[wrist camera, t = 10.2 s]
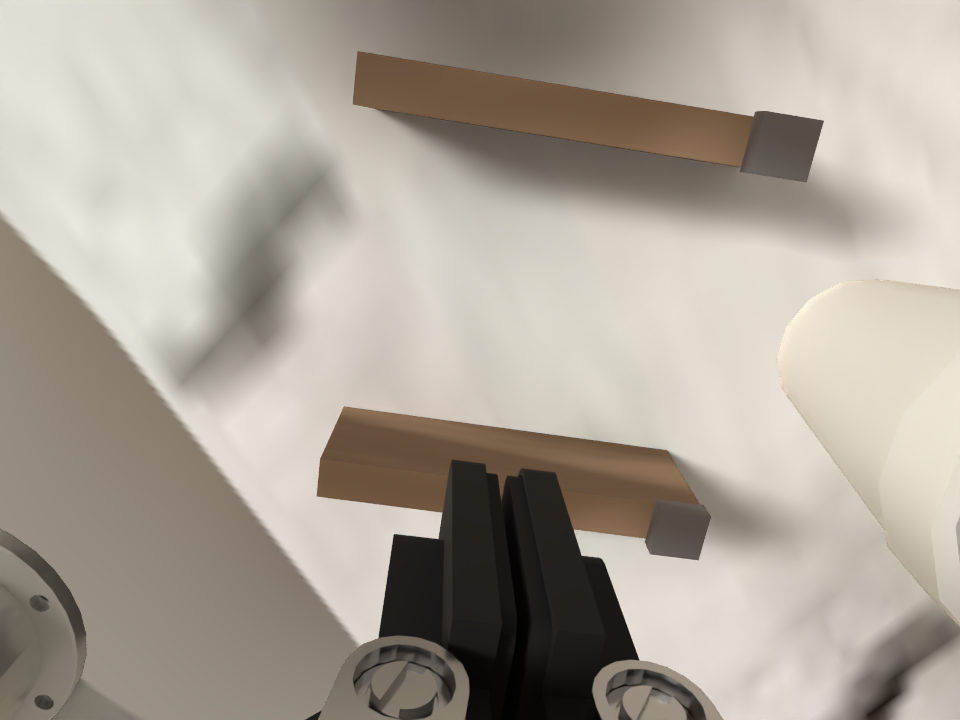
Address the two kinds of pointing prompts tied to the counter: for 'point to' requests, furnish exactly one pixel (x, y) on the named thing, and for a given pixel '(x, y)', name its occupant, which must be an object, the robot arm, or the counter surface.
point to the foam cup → (888, 412)
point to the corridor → (577, 462)
